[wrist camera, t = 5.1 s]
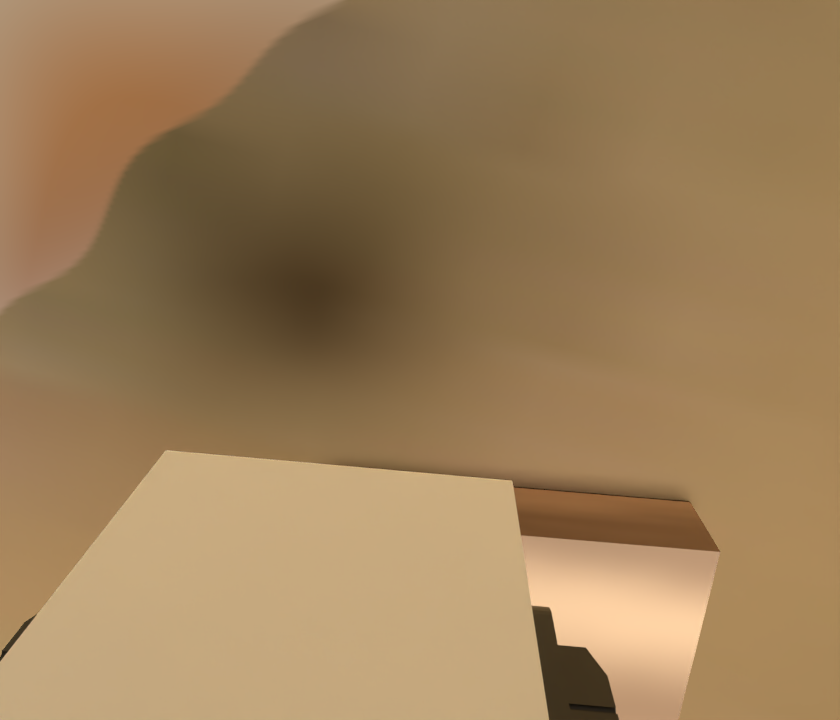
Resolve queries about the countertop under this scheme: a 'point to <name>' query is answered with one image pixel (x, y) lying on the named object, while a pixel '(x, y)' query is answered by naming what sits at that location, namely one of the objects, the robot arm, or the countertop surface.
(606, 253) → the countertop surface
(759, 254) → the countertop surface
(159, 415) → the countertop surface
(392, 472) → the cube
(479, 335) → the countertop surface
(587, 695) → the robot arm
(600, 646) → the base
